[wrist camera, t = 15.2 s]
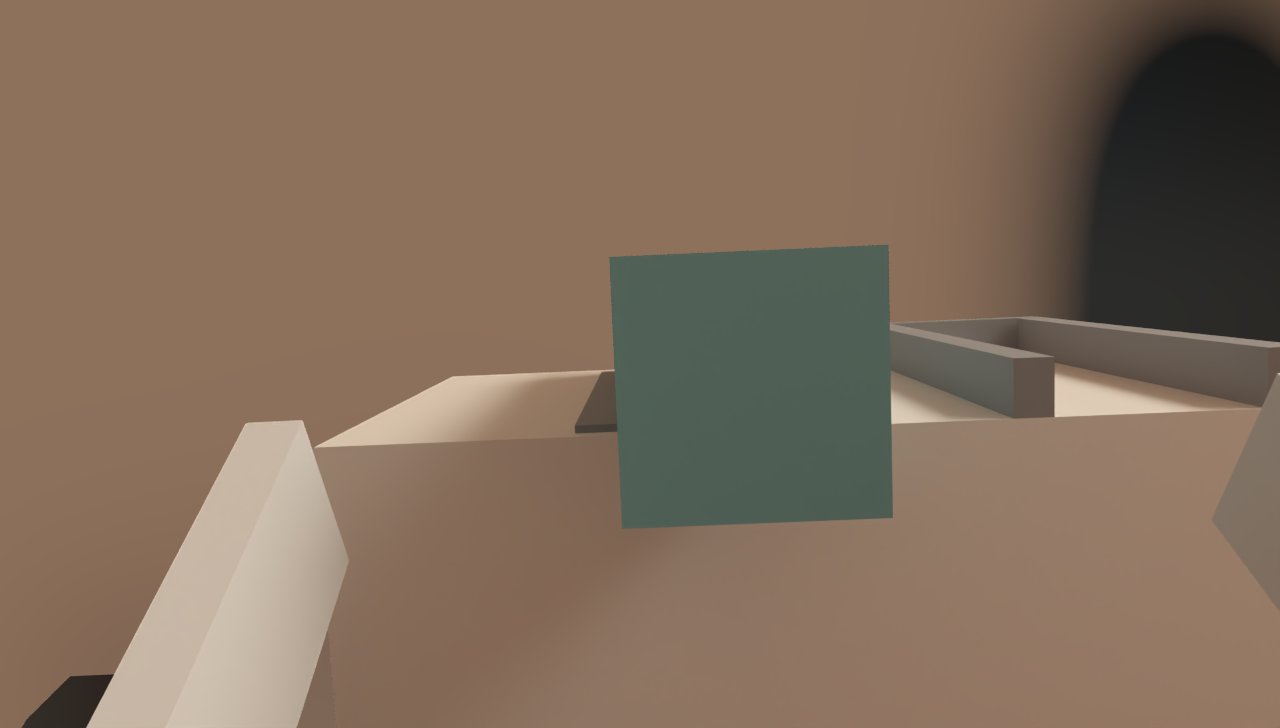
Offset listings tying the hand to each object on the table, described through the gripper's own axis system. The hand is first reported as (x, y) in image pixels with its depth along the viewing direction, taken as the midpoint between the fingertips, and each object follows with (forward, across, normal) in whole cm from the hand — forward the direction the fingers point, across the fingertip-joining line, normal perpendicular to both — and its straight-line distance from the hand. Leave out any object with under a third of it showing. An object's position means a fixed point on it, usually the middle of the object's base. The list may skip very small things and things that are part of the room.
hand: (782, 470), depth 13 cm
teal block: (+10, 0, -7) cm, 13 cm away
